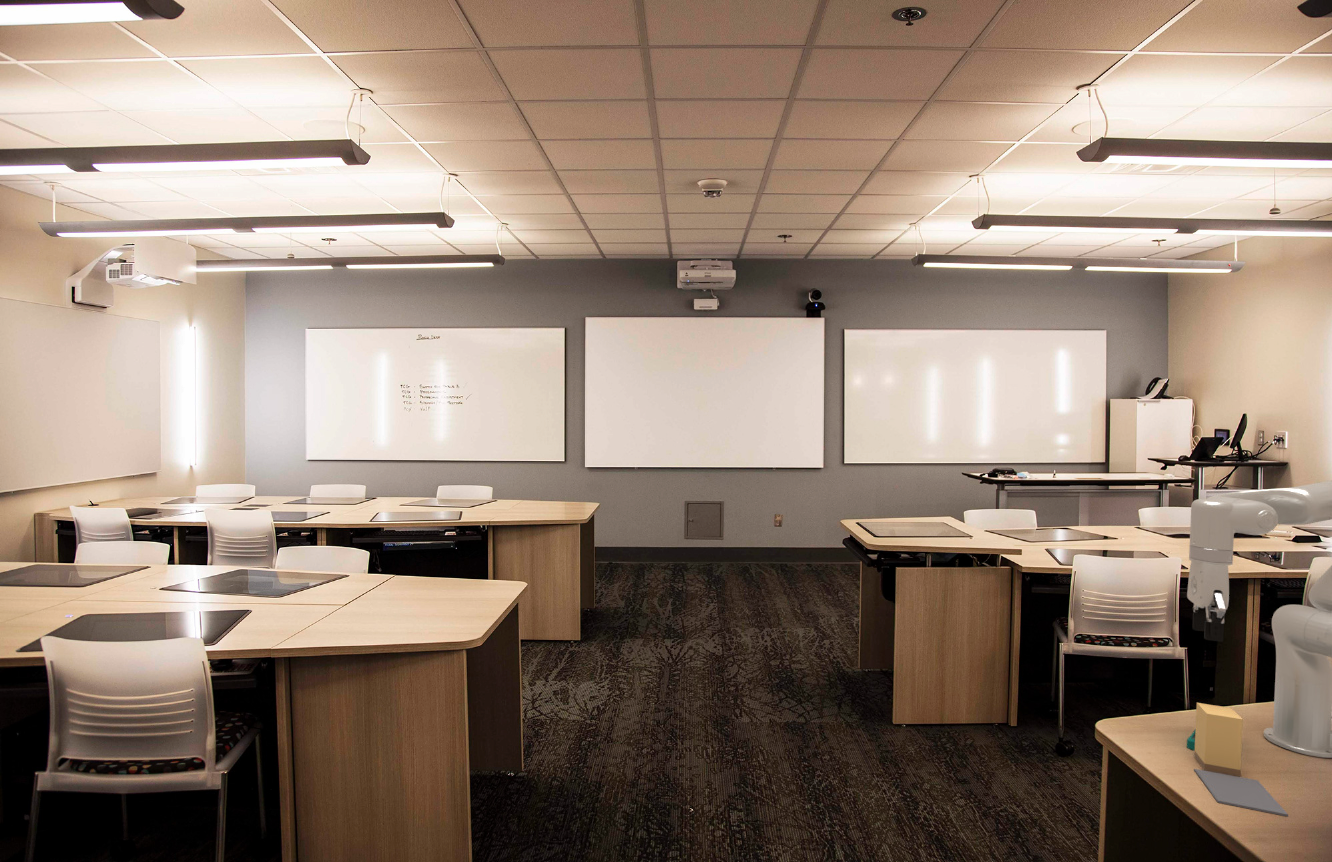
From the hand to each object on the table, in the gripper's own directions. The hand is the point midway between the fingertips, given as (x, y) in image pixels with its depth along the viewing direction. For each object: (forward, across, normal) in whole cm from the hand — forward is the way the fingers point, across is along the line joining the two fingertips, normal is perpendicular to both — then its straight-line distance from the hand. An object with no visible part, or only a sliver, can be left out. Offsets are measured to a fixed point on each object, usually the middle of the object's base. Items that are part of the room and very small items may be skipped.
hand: (1207, 634), depth 149 cm
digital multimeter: (+26, -4, +3) cm, 27 cm away
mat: (+26, +19, 0) cm, 32 cm away
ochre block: (+26, +8, 0) cm, 27 cm away
